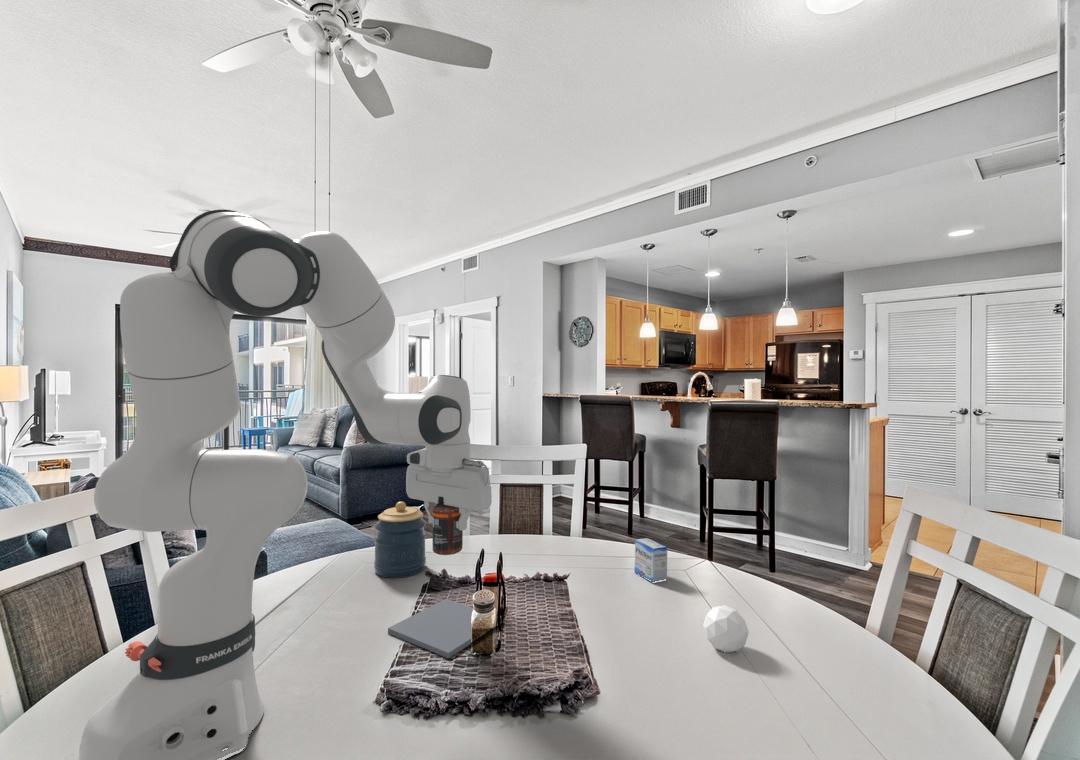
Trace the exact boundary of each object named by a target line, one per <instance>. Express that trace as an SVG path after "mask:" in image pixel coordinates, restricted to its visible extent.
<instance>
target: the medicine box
mask: <svg viewBox="0 0 1080 760" xmlns="http://www.w3.org/2000/svg"><path fill="white" fill-rule="evenodd" d="M633 573H637V574H639V575H641V576H643V577H645V578H647V579H649V580H651V581H652V582H655V581H659V580H664V579H667V580H668V546H665V545H663V544H661V543H659V542H657V541H654V540H652V539H650V538H639V539H635V541H634V572H633ZM637 574H636V575H637ZM639 575H638V576H639ZM641 576H640V577H641Z"/></svg>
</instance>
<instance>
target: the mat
mask: <svg viewBox="0 0 1080 760" xmlns="http://www.w3.org/2000/svg"><path fill="white" fill-rule="evenodd" d="M471 613H472V606H470V605H466V604H463V603H461V602H457V601H454V600H452V599H451V600H450V599H448V598H445V599H442V600H441V601H439V602H437V603H435V604H432V605H431V606H428V607H426V608H425V609H422V610H421V611H419V612H417V613H415V614H413V615H411V616H409V617H406V619H402V620H401V621H399V622H397V623H395V624H392V625H391V626H388V627H387V634H389V635H391V636H393V637H396V638H399V639H401V640H403V641H406V642H408V643H410V644H413V645H414V646H417V647H420V648H422V649H425V650H426V651H430V652H432V653H434V654H436V655H439V656H441V657H444V658H446V659H450V658H451V657H453V656H454V655H456V654H458V653H459V652H460V651H462V650H464V649H465V648H467V647H469V646H470V645H471V631H470V626H471Z"/></svg>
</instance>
